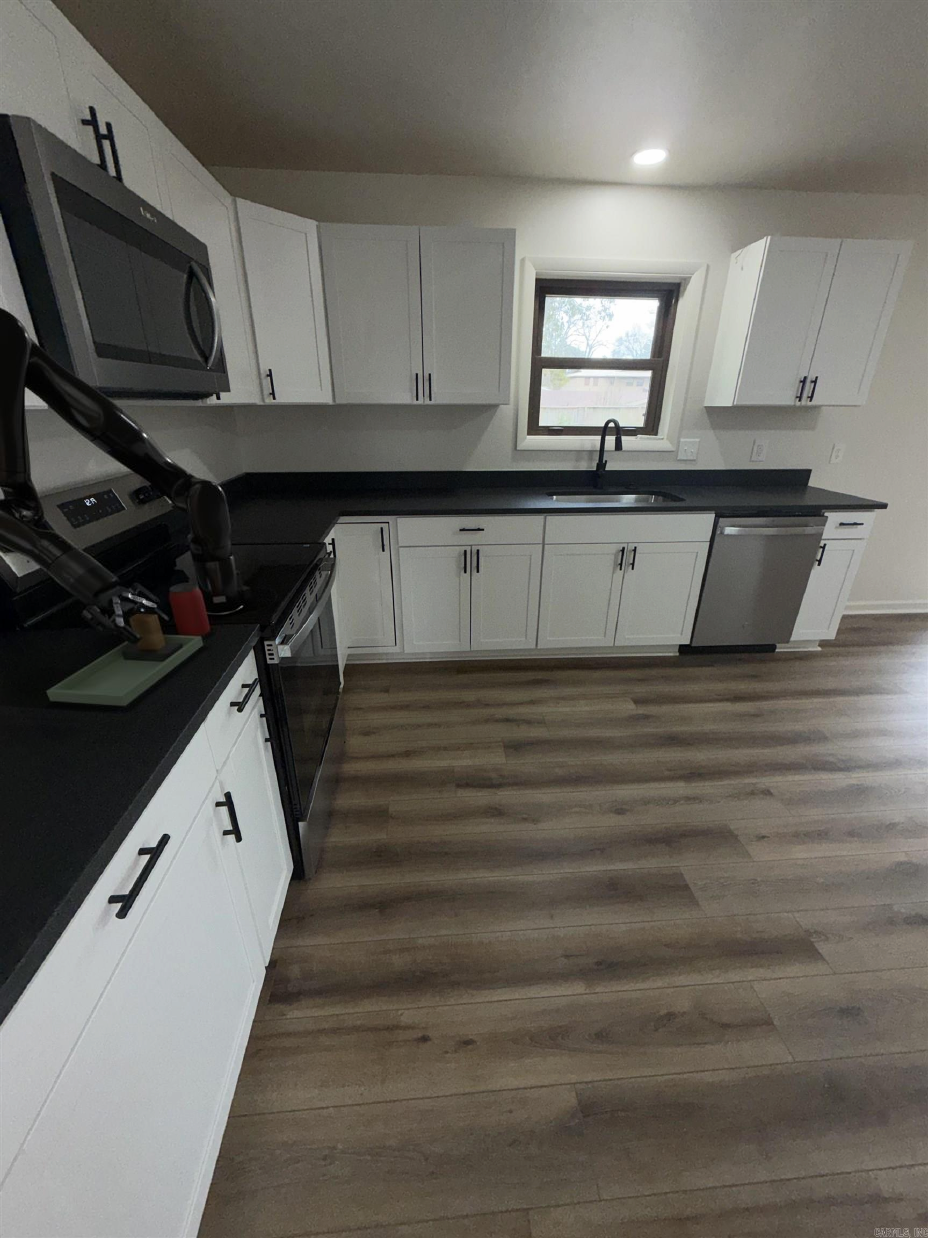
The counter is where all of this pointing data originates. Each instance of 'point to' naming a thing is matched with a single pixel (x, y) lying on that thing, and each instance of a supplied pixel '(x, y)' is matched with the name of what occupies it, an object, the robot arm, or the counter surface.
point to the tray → (119, 675)
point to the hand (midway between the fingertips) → (153, 632)
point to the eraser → (149, 641)
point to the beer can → (189, 610)
